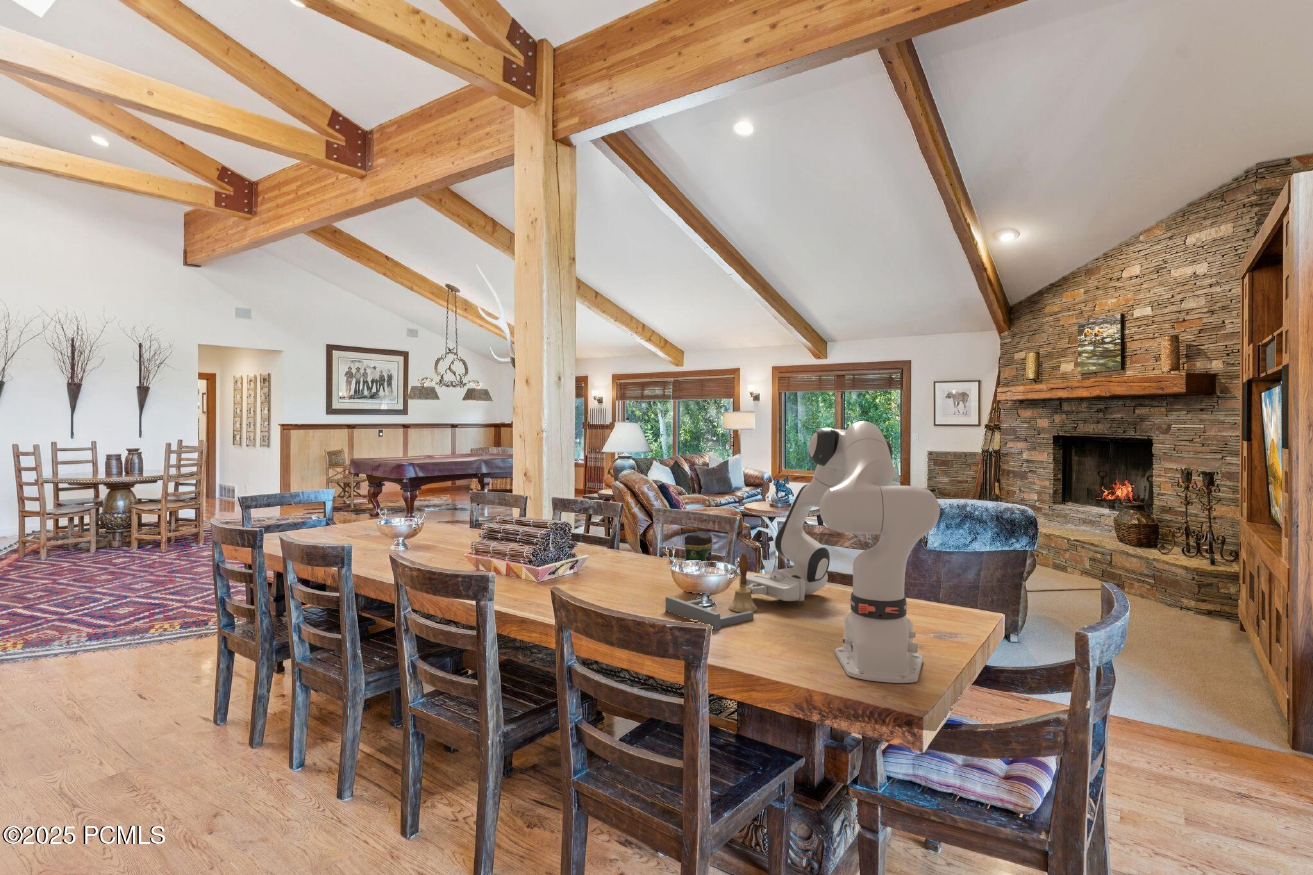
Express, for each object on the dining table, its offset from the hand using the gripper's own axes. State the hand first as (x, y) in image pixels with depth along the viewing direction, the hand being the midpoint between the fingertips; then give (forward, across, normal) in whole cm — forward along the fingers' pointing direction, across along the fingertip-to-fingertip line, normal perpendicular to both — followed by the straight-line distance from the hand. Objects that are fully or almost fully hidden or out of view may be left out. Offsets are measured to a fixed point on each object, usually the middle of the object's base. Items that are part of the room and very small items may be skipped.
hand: (748, 590), depth 192 cm
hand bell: (+2, 0, +5) cm, 6 cm away
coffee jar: (-2, -26, +5) cm, 26 cm away
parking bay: (+14, 0, +5) cm, 15 cm away
